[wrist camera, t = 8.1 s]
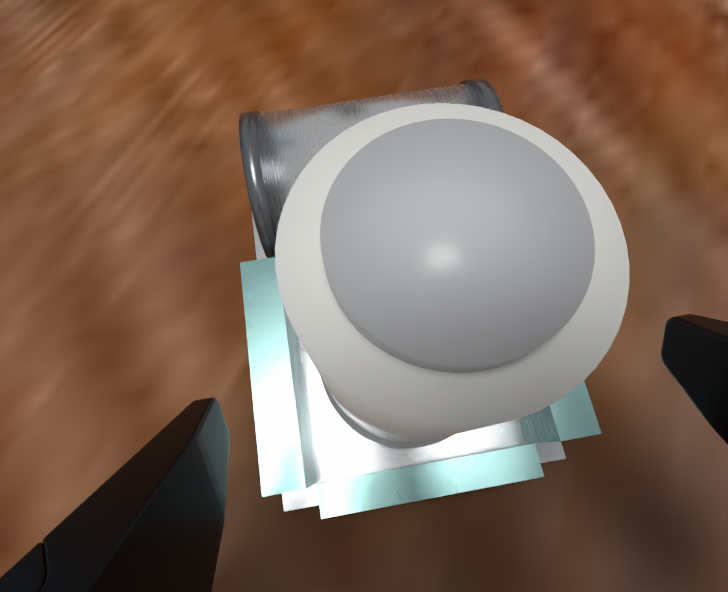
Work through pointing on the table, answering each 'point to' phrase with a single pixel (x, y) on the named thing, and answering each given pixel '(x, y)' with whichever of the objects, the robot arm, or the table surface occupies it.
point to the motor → (303, 382)
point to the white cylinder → (449, 271)
